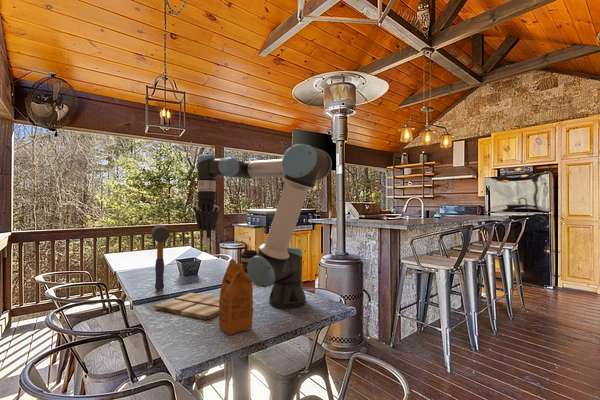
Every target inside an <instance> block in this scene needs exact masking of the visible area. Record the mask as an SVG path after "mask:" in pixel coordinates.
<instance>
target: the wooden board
mask: <svg viewBox="0 0 600 400" xmlns="http://www.w3.org/2000/svg"><path fill="white" fill-rule="evenodd" d="M173 299H175V300H181V301H186V302H191V303H196V304H202V305H208V306H213V307H219V299H220V296H213V295H207V294H201V293H195V292H189V293H185V294H183V295H181V296H178V297H174V298H173Z"/></svg>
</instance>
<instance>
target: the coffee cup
mask: <svg viewBox="0 0 600 400" xmlns="http://www.w3.org/2000/svg"><path fill="white" fill-rule="evenodd" d="M257 253H258V251H257V250H252V249H249V250H248V249H247V250H243V252H242V253H240V258H241V264H244V265H246V269H244V271H245V273H246V275H247V277H248V278H249V280H250V281H251V279H250V276H249V275H248V271H247V266H248V262H249V260H250V259H251V258H252V257H254V256H257Z"/></svg>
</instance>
